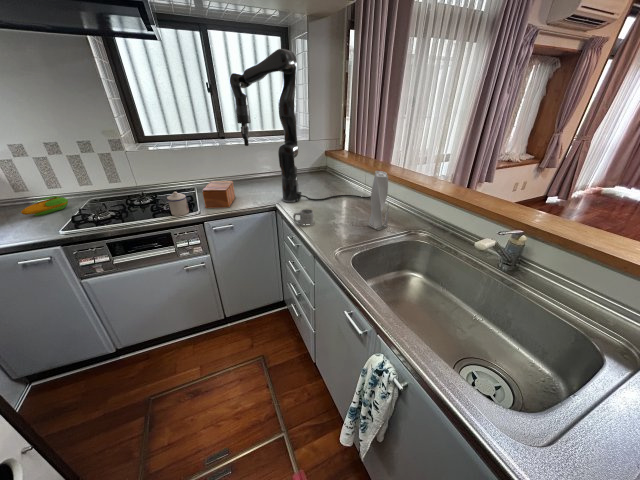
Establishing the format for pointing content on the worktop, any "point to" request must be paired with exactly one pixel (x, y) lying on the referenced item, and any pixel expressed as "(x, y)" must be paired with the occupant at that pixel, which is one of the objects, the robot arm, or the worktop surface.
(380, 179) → the skyscraper
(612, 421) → the worktop surface
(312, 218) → the mug
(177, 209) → the teacup with lid
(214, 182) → the flap
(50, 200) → the corn
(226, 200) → the wooden box
